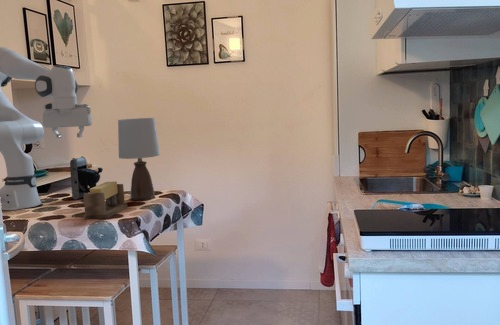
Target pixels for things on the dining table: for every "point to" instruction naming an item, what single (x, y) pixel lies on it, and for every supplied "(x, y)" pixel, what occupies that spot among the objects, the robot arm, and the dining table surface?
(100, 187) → the plank
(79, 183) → the vintage camera
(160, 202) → the dining table surface
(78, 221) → the dining table surface
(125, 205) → the brown u-shaped block
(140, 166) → the lamp
